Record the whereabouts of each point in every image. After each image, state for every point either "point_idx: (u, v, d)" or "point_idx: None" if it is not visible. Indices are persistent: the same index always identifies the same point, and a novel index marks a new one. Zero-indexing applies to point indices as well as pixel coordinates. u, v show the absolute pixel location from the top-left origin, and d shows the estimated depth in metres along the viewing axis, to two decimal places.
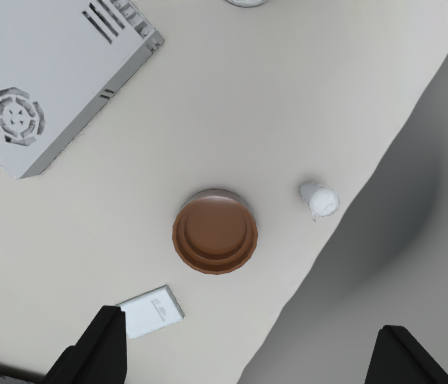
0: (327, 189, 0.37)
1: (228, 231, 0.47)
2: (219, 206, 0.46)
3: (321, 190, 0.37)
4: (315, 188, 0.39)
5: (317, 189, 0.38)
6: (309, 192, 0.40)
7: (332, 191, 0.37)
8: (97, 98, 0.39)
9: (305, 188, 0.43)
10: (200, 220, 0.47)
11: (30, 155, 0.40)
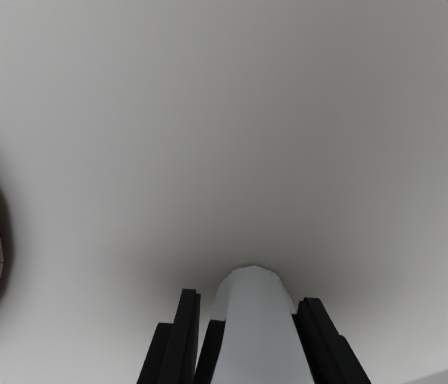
0: None
1: None
2: None
3: None
4: None
5: None
6: None
7: None
8: None
9: (238, 309, 0.08)
10: None
11: None
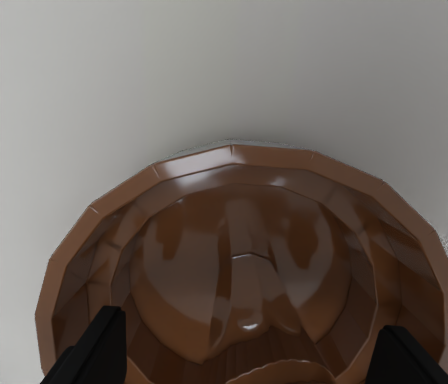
0: None
1: None
2: (299, 230, 0.12)
3: None
4: (282, 360, 0.06)
5: None
6: (239, 351, 0.07)
7: None
8: None
9: (240, 288, 0.10)
10: (208, 234, 0.12)
11: None
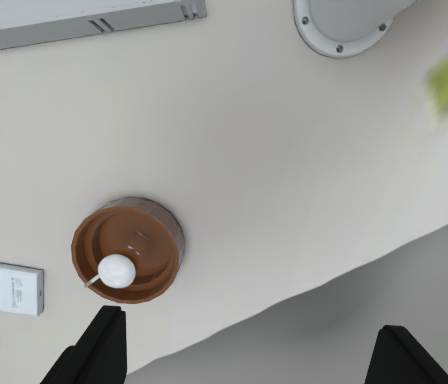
0: (125, 260, 0.30)
1: (147, 255, 0.39)
2: (153, 225, 0.38)
3: (117, 257, 0.30)
4: (121, 250, 0.31)
5: (118, 253, 0.30)
6: (115, 250, 0.32)
7: (128, 265, 0.30)
8: (85, 21, 0.28)
9: (126, 241, 0.35)
10: (124, 226, 0.38)
11: None
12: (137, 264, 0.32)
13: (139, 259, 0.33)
